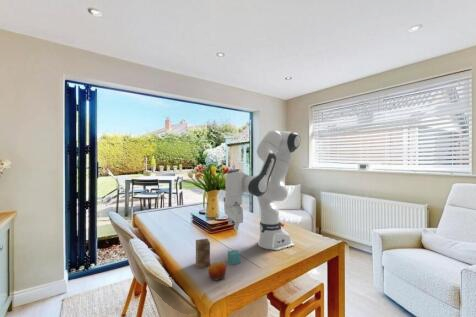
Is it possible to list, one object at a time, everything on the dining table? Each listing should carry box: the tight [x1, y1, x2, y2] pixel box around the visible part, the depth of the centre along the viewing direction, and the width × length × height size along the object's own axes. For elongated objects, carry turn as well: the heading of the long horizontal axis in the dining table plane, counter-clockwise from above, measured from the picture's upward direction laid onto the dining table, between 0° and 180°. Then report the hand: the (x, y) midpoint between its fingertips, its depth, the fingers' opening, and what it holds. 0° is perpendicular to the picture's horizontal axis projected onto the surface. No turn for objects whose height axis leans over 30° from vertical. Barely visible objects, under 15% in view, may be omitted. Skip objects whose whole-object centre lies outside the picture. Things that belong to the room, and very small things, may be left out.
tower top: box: [195, 238, 211, 256], centre depth 115 cm, size 6×6×6 cm
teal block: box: [227, 249, 241, 265], centre depth 119 cm, size 5×5×5 cm
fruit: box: [208, 261, 227, 282], centre depth 103 cm, size 8×8×8 cm
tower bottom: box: [195, 252, 211, 270], centre depth 115 cm, size 6×6×6 cm
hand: (233, 227), depth 119 cm, fingers open, 8 cm apart
